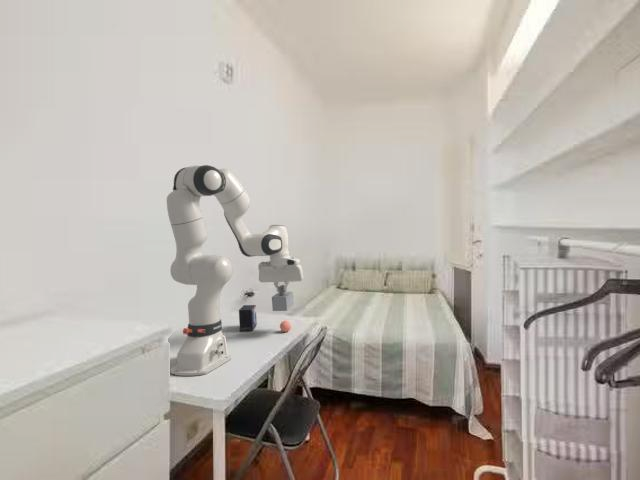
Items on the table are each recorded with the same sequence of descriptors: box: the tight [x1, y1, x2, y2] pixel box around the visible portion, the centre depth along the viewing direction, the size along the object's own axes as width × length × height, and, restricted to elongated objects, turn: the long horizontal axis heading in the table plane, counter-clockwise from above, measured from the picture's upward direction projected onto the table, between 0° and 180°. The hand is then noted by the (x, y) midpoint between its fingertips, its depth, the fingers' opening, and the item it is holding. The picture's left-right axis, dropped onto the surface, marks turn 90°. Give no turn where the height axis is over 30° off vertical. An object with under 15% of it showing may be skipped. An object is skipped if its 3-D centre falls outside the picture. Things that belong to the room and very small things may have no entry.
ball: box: [279, 320, 292, 333], centre depth 167 cm, size 5×5×5 cm
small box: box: [238, 304, 258, 332], centre depth 176 cm, size 11×6×10 cm, turn 179°
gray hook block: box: [271, 284, 294, 312], centre depth 166 cm, size 11×7×10 cm, turn 169°
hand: (281, 291), depth 165 cm, fingers closed on gray hook block
